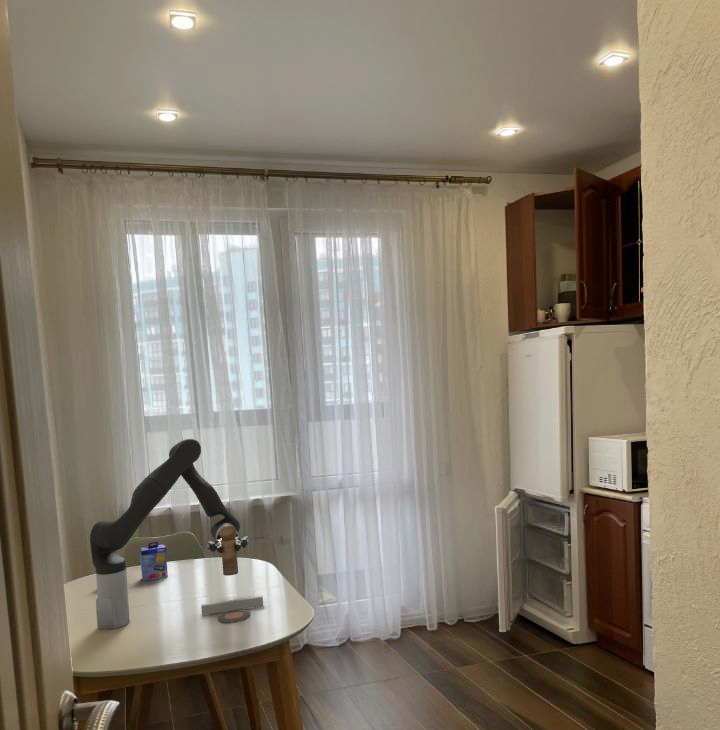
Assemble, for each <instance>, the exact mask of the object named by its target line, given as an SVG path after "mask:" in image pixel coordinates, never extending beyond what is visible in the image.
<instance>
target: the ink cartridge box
mask: <svg viewBox="0 0 720 730" xmlns="http://www.w3.org/2000/svg"><path fill="white" fill-rule="evenodd" d="M139 550H140V551H139V553H140V555H139V556H140V557H139V558H140V571H141V579H142V582H146V581H152V580H156V579H164V578H168V577H169V574H168V564H167V562H168V560H167V557H168V556H167V546H166V545H165V544H159V542H158V541H157V540H156V541H153V542H148V546H145V547H140V548H139Z"/></svg>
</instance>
